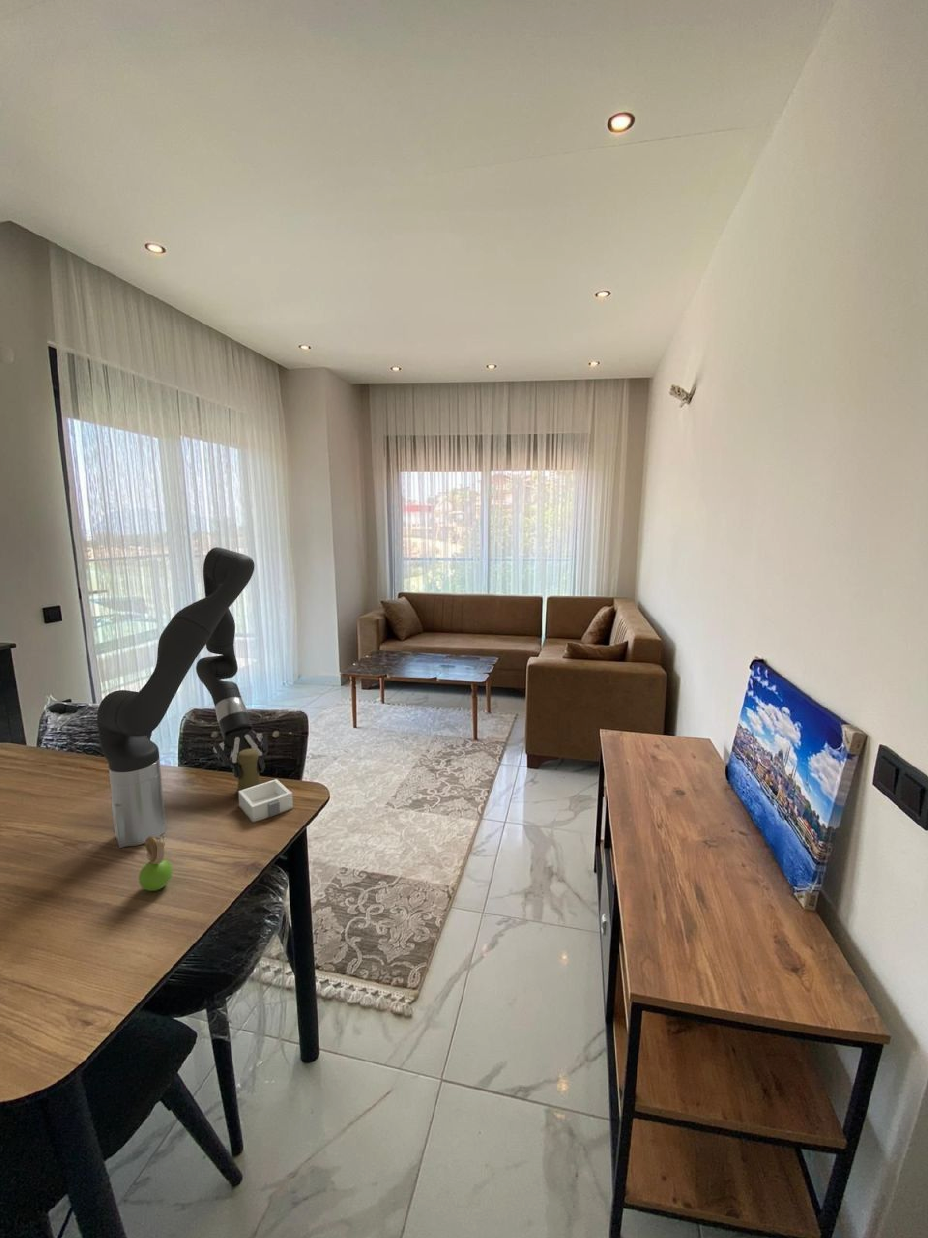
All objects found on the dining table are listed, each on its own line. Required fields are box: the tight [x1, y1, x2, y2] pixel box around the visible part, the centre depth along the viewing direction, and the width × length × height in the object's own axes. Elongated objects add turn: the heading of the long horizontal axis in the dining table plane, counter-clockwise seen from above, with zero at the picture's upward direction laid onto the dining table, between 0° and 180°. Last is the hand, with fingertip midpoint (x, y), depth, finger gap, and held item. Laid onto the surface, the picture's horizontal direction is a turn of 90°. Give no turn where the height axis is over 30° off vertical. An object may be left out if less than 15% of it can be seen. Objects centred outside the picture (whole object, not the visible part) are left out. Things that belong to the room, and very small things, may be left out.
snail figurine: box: [138, 834, 173, 892], centre depth 92 cm, size 5×6×12 cm
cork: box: [236, 749, 262, 794], centre depth 128 cm, size 6×6×11 cm
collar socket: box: [237, 778, 294, 823], centre depth 121 cm, size 10×11×4 cm
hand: (251, 774), depth 127 cm, fingers closed on cork, 5 cm apart
